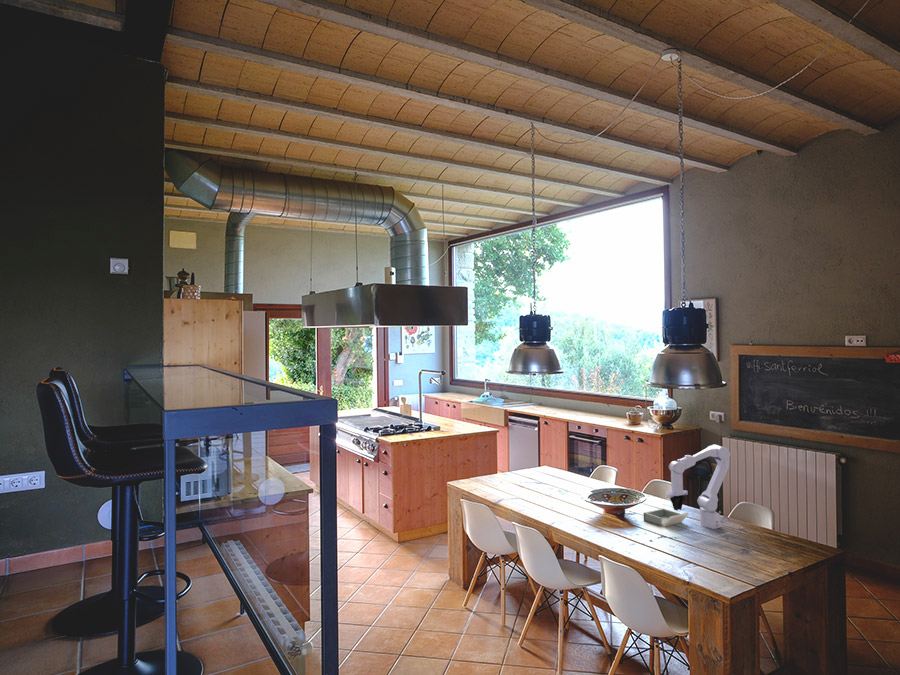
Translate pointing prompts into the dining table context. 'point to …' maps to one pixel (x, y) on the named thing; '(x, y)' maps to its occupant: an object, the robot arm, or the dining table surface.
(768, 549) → the dining table surface
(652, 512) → the cart bed
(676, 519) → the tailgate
